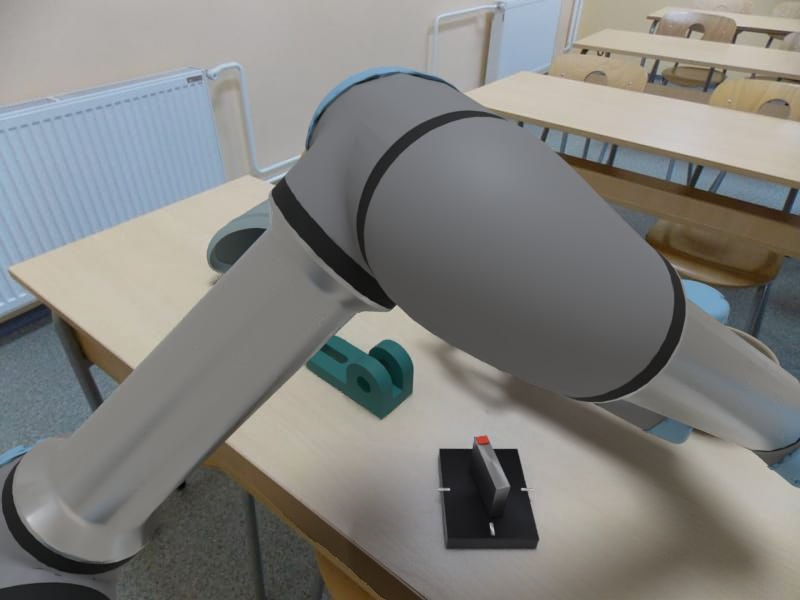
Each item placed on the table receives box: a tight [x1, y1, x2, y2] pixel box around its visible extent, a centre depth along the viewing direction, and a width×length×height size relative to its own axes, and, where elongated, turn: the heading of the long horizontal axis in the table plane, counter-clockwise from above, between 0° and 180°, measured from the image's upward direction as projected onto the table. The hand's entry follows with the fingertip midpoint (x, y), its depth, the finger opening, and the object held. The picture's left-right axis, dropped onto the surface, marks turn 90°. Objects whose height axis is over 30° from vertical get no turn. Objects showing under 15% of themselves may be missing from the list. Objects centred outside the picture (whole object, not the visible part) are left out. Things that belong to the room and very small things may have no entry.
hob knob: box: [469, 434, 510, 518], centre depth 59 cm, size 7×2×6 cm, turn 13°
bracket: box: [304, 334, 415, 420], centre depth 76 cm, size 18×7×8 cm, turn 50°
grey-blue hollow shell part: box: [206, 198, 270, 275], centre depth 96 cm, size 22×19×13 cm
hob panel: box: [437, 447, 540, 550], centre depth 61 cm, size 12×11×2 cm
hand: (431, 293), depth 80 cm, fingers closed on mug, 3 cm apart
